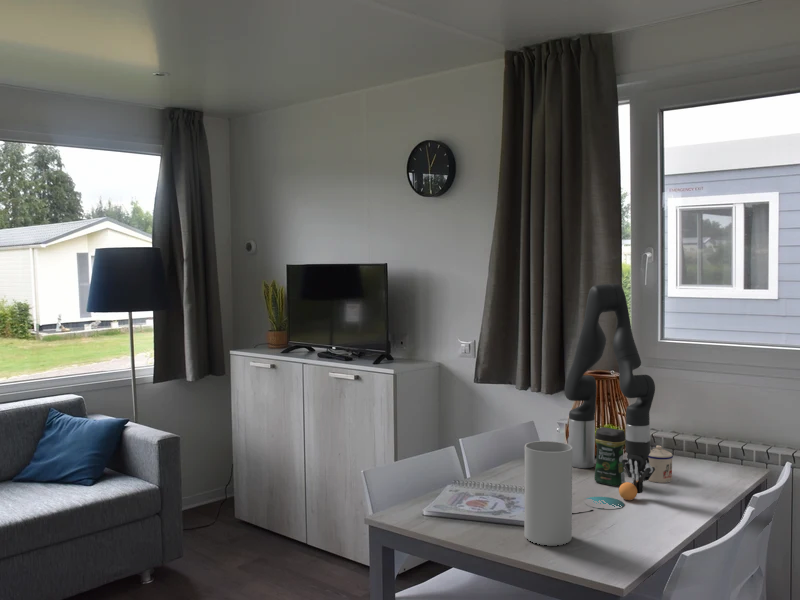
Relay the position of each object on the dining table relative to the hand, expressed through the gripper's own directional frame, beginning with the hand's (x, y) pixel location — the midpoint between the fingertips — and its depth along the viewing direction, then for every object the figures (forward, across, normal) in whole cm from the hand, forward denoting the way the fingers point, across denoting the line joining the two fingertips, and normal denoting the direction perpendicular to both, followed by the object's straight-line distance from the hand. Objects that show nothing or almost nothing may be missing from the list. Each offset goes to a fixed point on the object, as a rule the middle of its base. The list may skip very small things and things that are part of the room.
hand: (638, 492), depth 233 cm
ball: (-1, 0, -4) cm, 4 cm away
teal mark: (+2, 0, -13) cm, 13 cm away
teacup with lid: (+2, -14, +22) cm, 26 cm away
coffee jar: (+2, -17, +3) cm, 18 cm away
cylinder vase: (+2, +17, -46) cm, 49 cm away
